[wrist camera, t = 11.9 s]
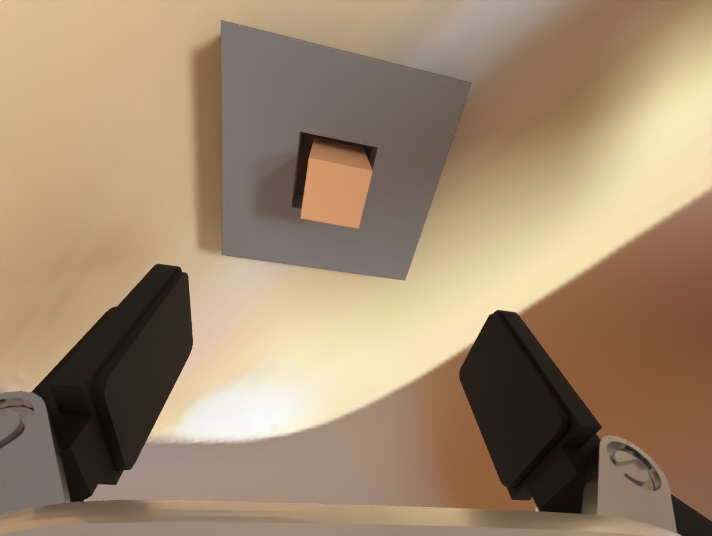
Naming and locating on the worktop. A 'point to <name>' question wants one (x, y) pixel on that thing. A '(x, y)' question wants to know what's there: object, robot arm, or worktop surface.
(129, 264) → the worktop surface
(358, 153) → the orange rectangular block
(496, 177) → the worktop surface
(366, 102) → the grey square hole board
